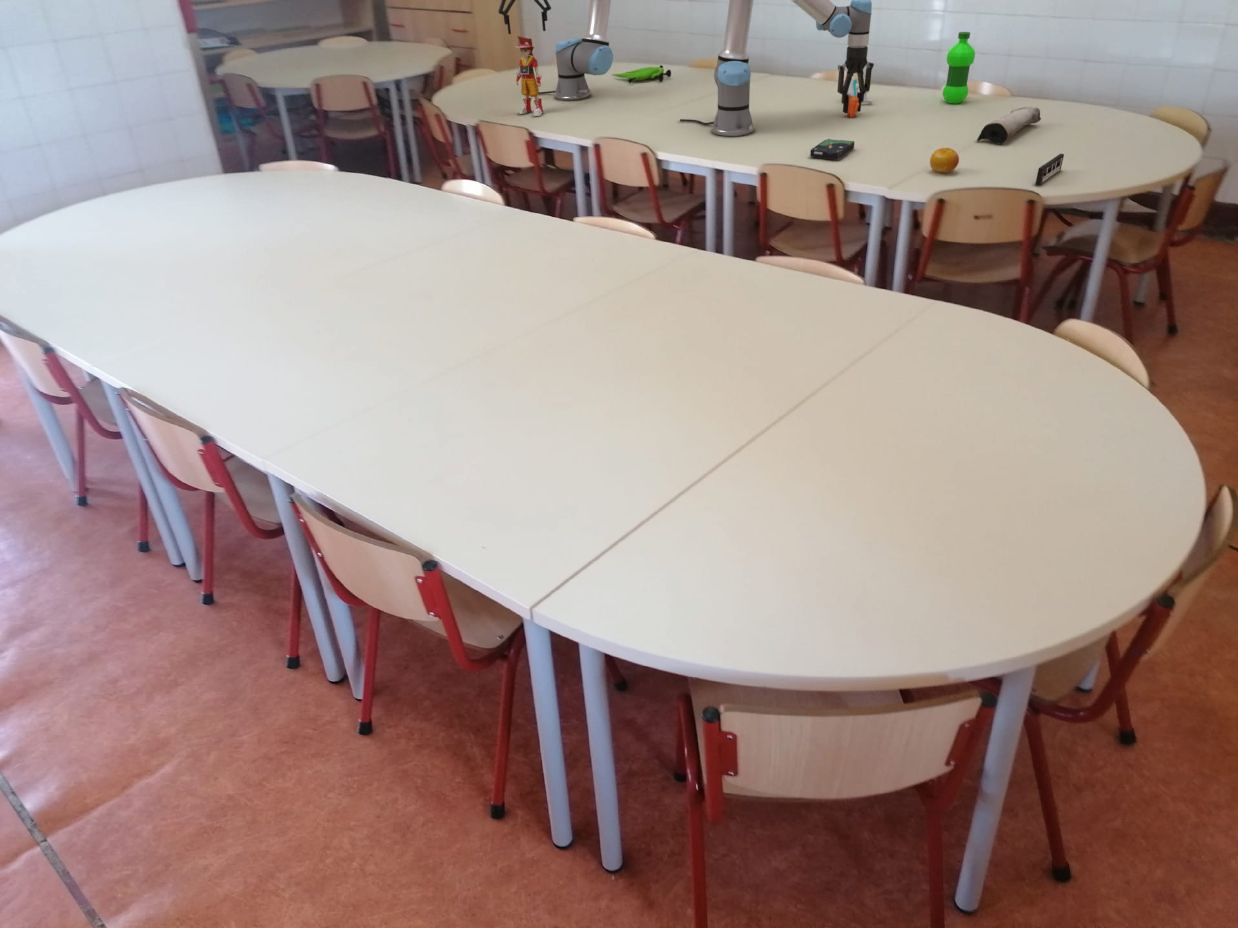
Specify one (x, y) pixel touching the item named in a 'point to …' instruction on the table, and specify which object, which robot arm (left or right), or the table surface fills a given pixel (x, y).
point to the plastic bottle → (958, 69)
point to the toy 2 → (645, 74)
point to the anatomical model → (854, 90)
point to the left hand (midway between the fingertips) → (527, 32)
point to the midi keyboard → (1049, 169)
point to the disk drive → (832, 149)
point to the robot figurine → (852, 106)
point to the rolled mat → (1009, 124)
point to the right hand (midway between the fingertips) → (851, 111)
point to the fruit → (944, 160)
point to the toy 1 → (529, 77)
